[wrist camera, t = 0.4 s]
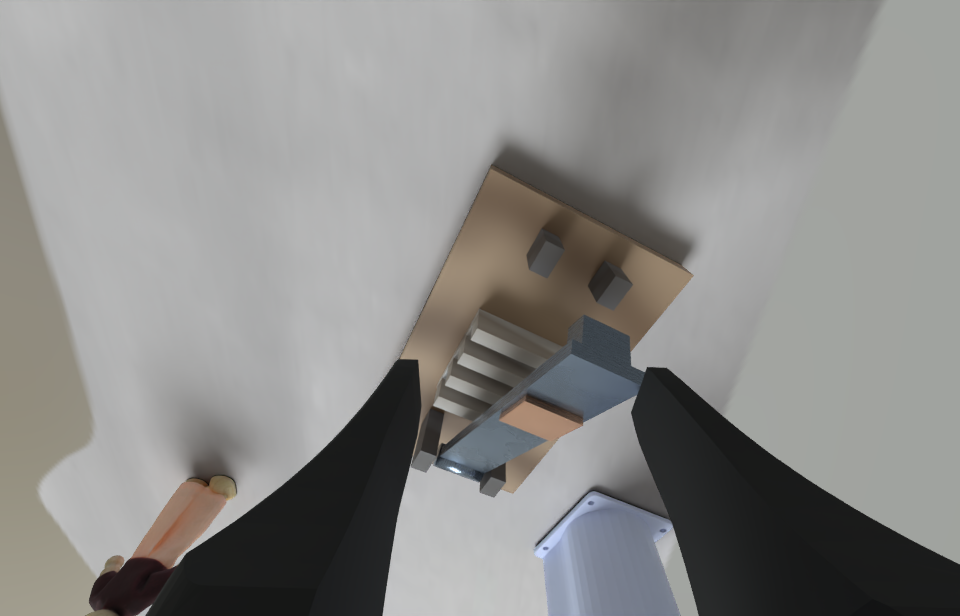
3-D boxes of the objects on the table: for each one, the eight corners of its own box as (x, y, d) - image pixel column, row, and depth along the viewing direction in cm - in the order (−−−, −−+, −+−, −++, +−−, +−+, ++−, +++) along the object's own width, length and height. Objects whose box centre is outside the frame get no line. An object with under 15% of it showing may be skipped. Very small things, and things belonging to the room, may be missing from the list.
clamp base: (512, 476, 30) (514, 540, 26) (369, 422, 28) (344, 480, 24) (681, 265, 21) (729, 305, 17) (491, 164, 19) (488, 180, 15)
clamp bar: (483, 445, 26) (474, 484, 24) (442, 429, 25) (431, 468, 23) (644, 338, 14) (648, 399, 12) (574, 305, 13) (570, 364, 12)
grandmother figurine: (228, 462, 31) (72, 664, 20) (257, 492, 32) (128, 695, 21) (157, 482, 32) (-25, 680, 21) (188, 510, 34) (33, 707, 23)
